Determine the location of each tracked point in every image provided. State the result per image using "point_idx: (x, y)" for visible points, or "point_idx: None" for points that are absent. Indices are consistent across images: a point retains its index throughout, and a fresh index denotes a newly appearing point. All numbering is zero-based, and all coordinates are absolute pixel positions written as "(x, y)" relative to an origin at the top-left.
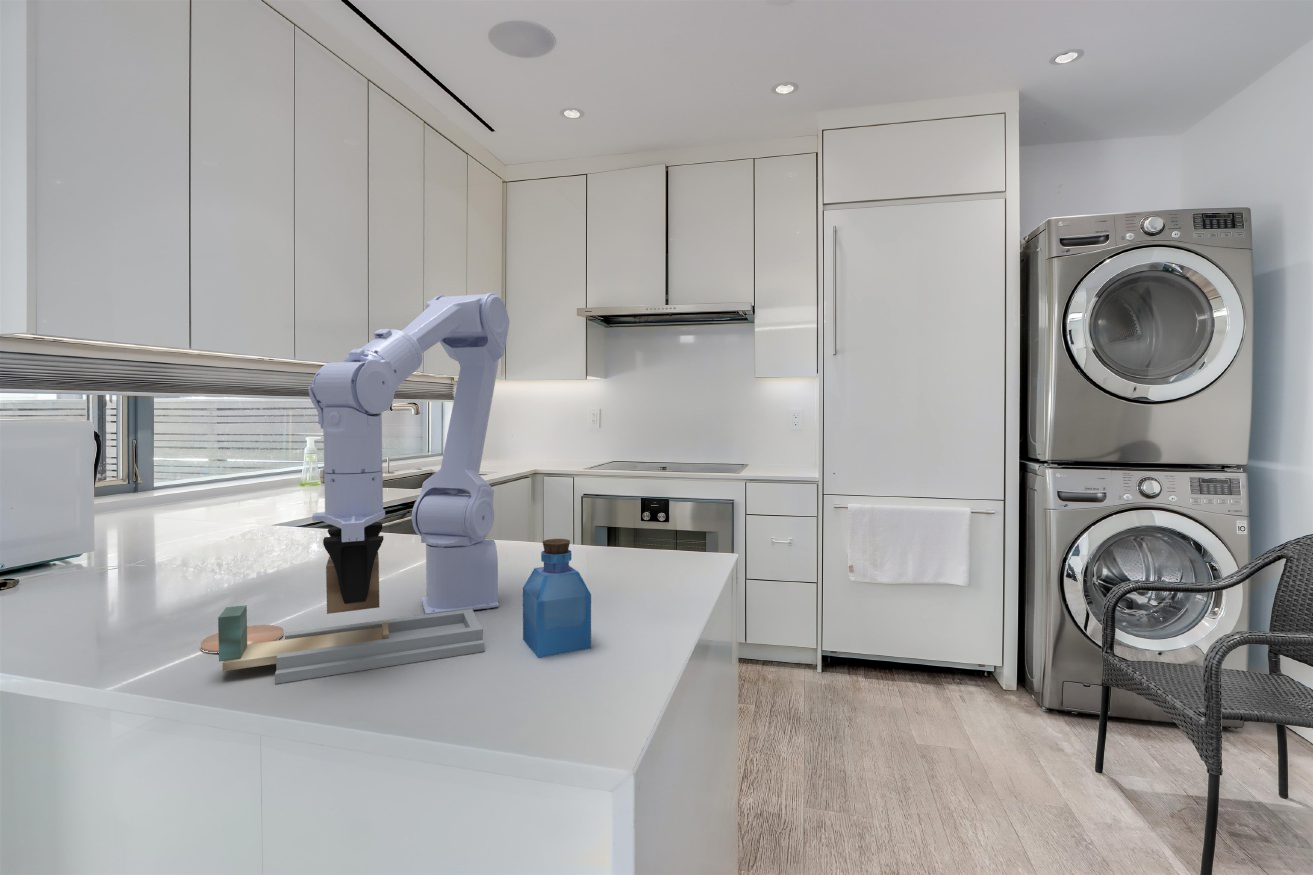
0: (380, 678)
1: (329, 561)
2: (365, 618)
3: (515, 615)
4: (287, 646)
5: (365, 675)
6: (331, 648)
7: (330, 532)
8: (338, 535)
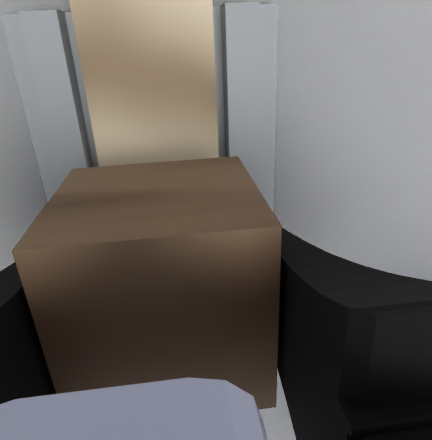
0: (2, 242)
1: (142, 247)
2: (422, 176)
3: (279, 432)
4: (145, 24)
5: (26, 213)
6: (67, 154)
7: (349, 322)
8: (329, 346)
